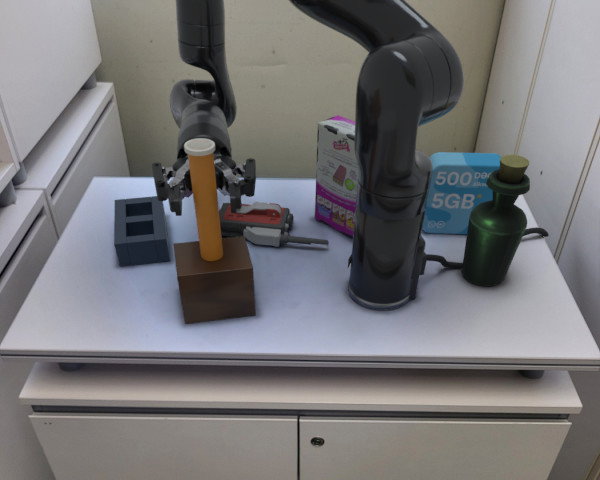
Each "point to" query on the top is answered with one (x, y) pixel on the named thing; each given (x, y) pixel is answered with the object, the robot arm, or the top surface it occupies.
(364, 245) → the robot arm
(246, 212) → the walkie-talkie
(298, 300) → the top surface
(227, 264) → the stand
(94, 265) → the top surface
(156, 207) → the rack
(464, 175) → the data package
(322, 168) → the candy bar box
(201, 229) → the test tube
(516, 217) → the potion bottle
